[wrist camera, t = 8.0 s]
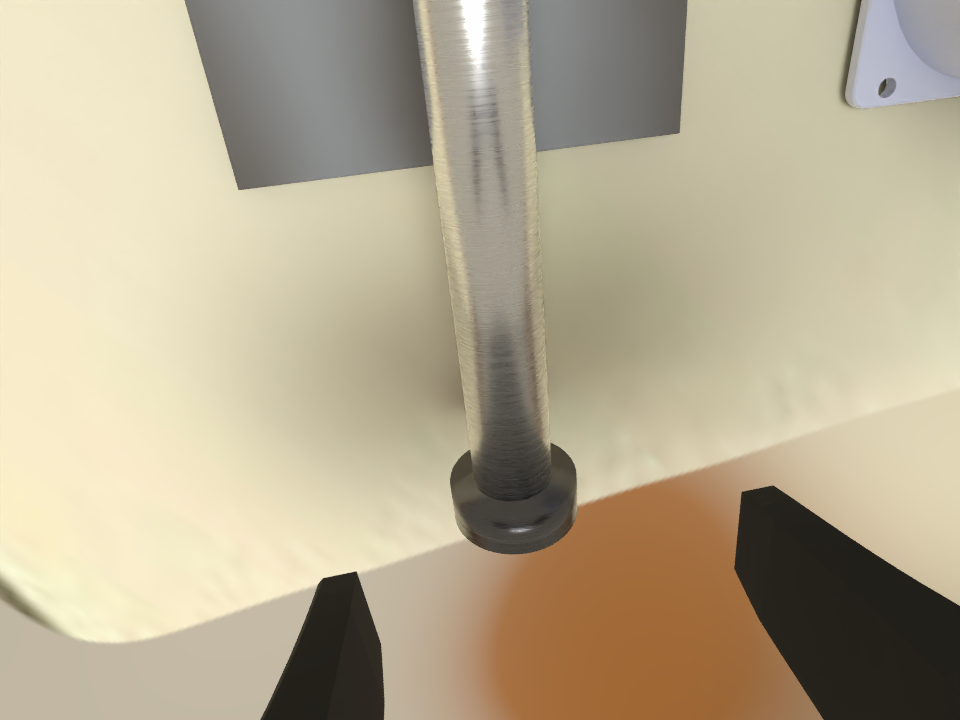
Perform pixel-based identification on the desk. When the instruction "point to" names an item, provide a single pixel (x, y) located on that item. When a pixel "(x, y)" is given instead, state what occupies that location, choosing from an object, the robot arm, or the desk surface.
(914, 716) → the robot arm
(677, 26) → the bearing block
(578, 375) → the desk surface
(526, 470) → the shaft
